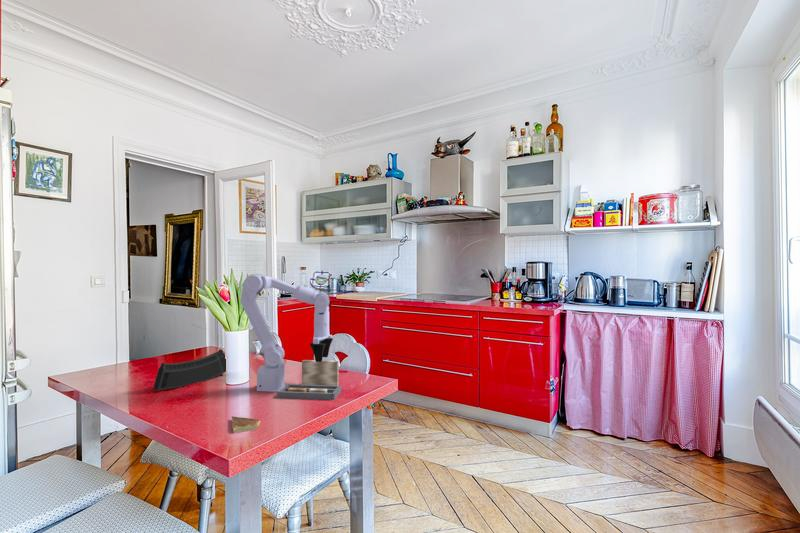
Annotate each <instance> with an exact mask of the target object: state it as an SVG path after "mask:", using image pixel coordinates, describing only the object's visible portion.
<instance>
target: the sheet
mask: <svg viewBox="0 0 800 533" xmlns="http://www.w3.org/2000/svg"><path fill="white" fill-rule="evenodd" d="M339 363H340V362H339V360H325V359H324V360H323V359H322V362H316V361H315V359H314V360H313V359H311V360H310V359H303V360H301V385H333V386H340V385H339V383H340V382H339V367H340V366H339Z"/></svg>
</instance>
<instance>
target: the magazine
mask: <svg viewBox="0 0 800 533" xmlns="http://www.w3.org/2000/svg"><path fill="white" fill-rule="evenodd" d="M225 354H226V352H225V351H224V350H223V349H218V351H216V352H213V353H211V354H208V355H206V356H204V357H200V358H197V359H193V360H187V361H181V362H175V363H165V362H162V363H161V364H160V366H159V368H158V371H157V373H156V376H155V377H156V378H155V380H154V384H153V387H152V389H153V390H154V391H161V390H171V389H178V388H182V386H184V387H187V386H186V385H189V384H193V383H196V384H198V383H197V382H200V383H203V382H206V381H208V380H211V379H214V378H216V377H218V376H221V377H223V376H224V375H223V374H224V373H226V372H227V371H226V359H225ZM202 381H203V382H202ZM193 385H194V384H193ZM189 386H190V385H189ZM177 387H178V388H177Z"/></svg>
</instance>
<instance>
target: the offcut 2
mask: <svg viewBox="0 0 800 533" xmlns="http://www.w3.org/2000/svg"><path fill="white" fill-rule="evenodd" d="M309 392H319V393H327V389H317V388H311V389H309Z"/></svg>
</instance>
